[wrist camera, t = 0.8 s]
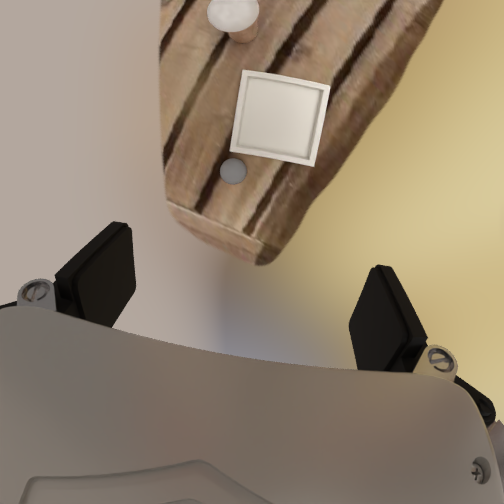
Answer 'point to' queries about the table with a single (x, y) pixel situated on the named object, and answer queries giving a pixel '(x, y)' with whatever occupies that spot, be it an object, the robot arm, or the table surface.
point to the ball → (233, 171)
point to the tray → (279, 117)
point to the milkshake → (235, 18)
